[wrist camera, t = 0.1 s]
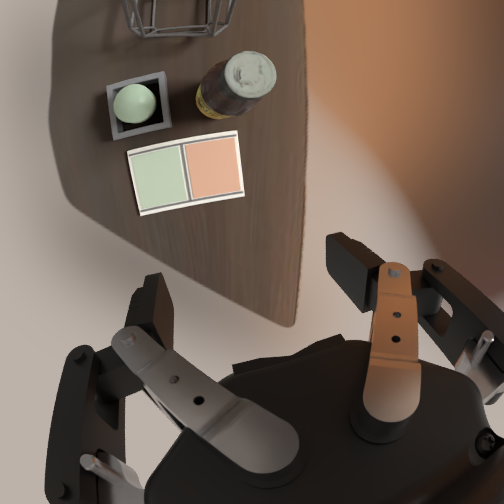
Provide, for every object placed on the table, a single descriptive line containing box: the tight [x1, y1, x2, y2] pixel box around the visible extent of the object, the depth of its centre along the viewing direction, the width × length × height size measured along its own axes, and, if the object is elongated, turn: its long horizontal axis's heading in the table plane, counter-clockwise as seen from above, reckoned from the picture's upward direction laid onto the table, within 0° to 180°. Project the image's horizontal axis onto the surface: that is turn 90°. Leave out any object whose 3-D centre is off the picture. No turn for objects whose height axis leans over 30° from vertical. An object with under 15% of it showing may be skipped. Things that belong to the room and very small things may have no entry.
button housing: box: [106, 71, 172, 141], centre depth 30 cm, size 8×8×3 cm
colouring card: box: [127, 130, 245, 216], centre depth 37 cm, size 10×16×1 cm, turn 96°
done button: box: [113, 84, 157, 123], centre depth 28 cm, size 5×5×4 cm
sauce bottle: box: [196, 51, 276, 119], centre depth 25 cm, size 7×6×20 cm
